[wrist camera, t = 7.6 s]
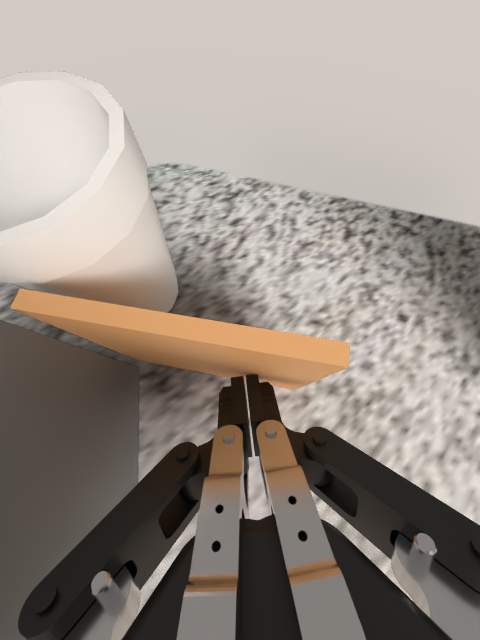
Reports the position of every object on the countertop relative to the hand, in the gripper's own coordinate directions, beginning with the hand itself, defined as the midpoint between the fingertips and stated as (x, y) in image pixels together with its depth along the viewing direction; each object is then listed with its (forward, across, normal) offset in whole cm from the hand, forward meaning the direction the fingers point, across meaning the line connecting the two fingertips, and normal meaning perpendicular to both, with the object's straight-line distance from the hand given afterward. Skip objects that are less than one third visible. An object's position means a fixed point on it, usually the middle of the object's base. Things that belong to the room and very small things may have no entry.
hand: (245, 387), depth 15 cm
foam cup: (+10, +8, -4) cm, 13 cm away
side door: (+4, +2, +1) cm, 5 cm away
